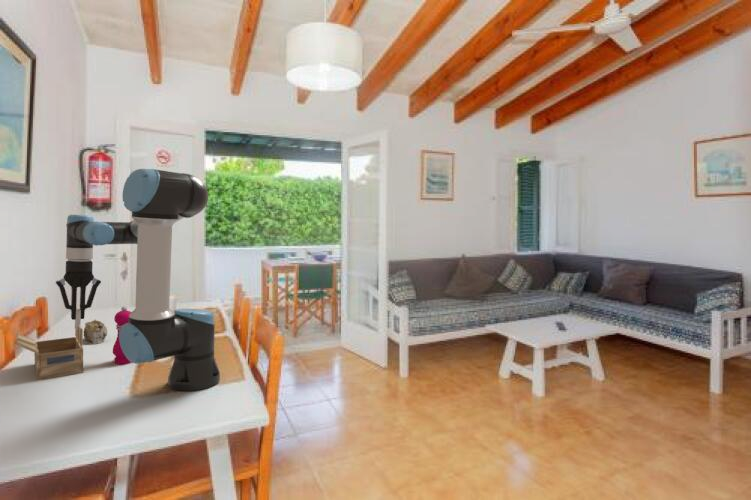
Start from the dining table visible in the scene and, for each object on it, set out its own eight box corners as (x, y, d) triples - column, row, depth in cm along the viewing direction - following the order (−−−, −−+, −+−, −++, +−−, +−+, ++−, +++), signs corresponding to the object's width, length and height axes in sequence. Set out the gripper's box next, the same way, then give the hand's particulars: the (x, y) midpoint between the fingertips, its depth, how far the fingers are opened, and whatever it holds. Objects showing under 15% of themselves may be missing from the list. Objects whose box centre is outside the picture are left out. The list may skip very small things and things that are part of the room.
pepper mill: (125, 365, 149) (125, 308, 148) (107, 364, 151) (107, 307, 150) (140, 359, 157) (140, 305, 155) (123, 357, 158) (123, 303, 157)
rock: (112, 339, 178) (105, 316, 178) (94, 344, 173) (87, 320, 173) (103, 342, 186) (97, 320, 186) (86, 347, 181) (79, 325, 181)
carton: (83, 372, 142) (83, 348, 141) (37, 380, 134) (36, 355, 133) (76, 358, 156) (76, 336, 156) (34, 364, 148) (34, 341, 148)
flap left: (18, 343, 131) (17, 345, 131) (36, 351, 134) (36, 353, 134) (17, 332, 144) (16, 333, 144) (34, 340, 147) (33, 341, 147)
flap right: (81, 346, 142) (82, 345, 142) (81, 329, 142) (82, 329, 142) (75, 335, 154) (76, 335, 155) (75, 320, 154) (76, 320, 154)
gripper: (99, 259, 154) (97, 324, 155) (55, 259, 145) (53, 328, 146) (103, 261, 148) (101, 328, 149) (57, 261, 140) (55, 333, 141)
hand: (77, 328), depth 148 cm, fingers closed
